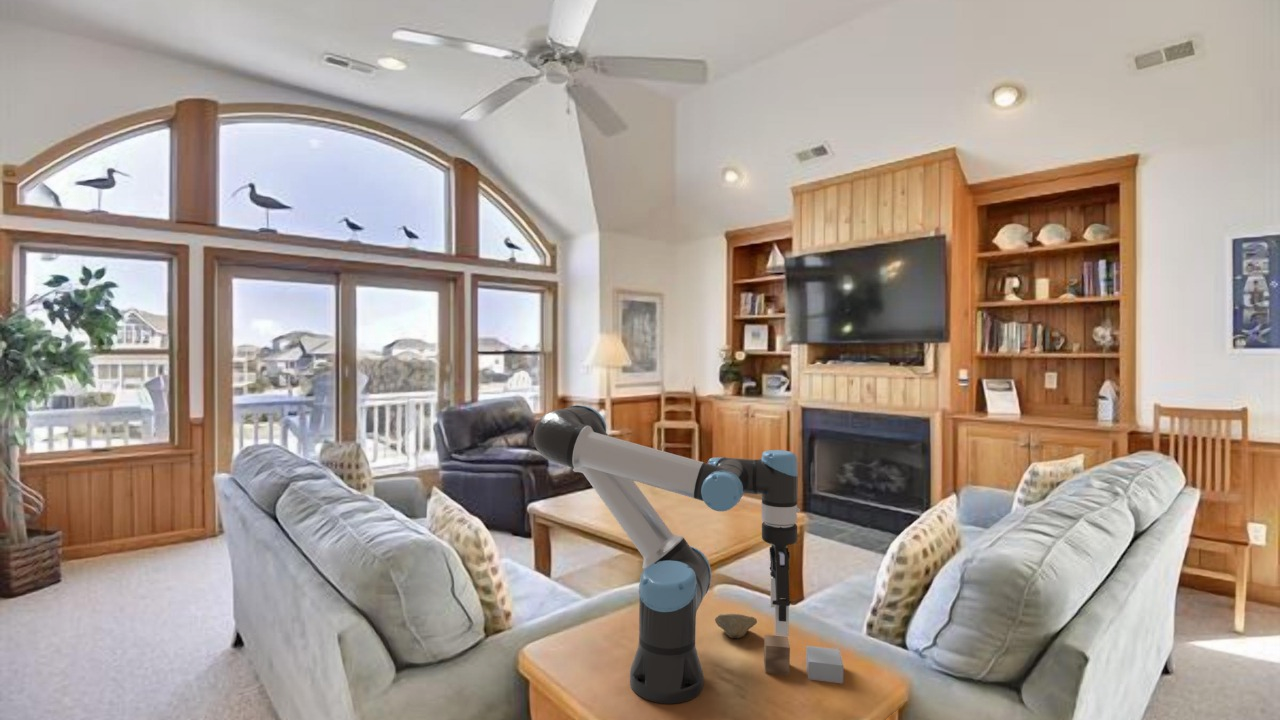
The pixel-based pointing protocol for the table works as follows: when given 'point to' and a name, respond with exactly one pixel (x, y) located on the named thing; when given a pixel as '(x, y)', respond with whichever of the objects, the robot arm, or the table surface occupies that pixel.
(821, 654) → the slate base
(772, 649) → the walnut block
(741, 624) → the fossil
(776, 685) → the table surface
